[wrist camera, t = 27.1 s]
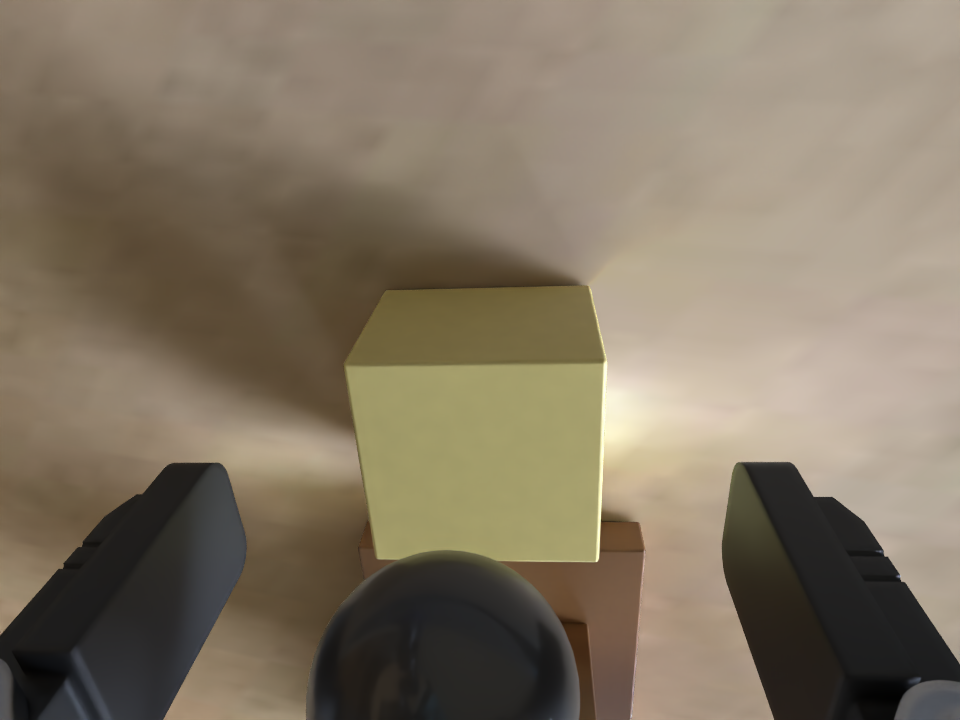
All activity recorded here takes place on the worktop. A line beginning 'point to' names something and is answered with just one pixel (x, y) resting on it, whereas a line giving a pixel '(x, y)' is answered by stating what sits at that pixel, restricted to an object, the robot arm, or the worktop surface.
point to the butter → (482, 422)
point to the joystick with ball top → (444, 647)
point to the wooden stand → (586, 613)
